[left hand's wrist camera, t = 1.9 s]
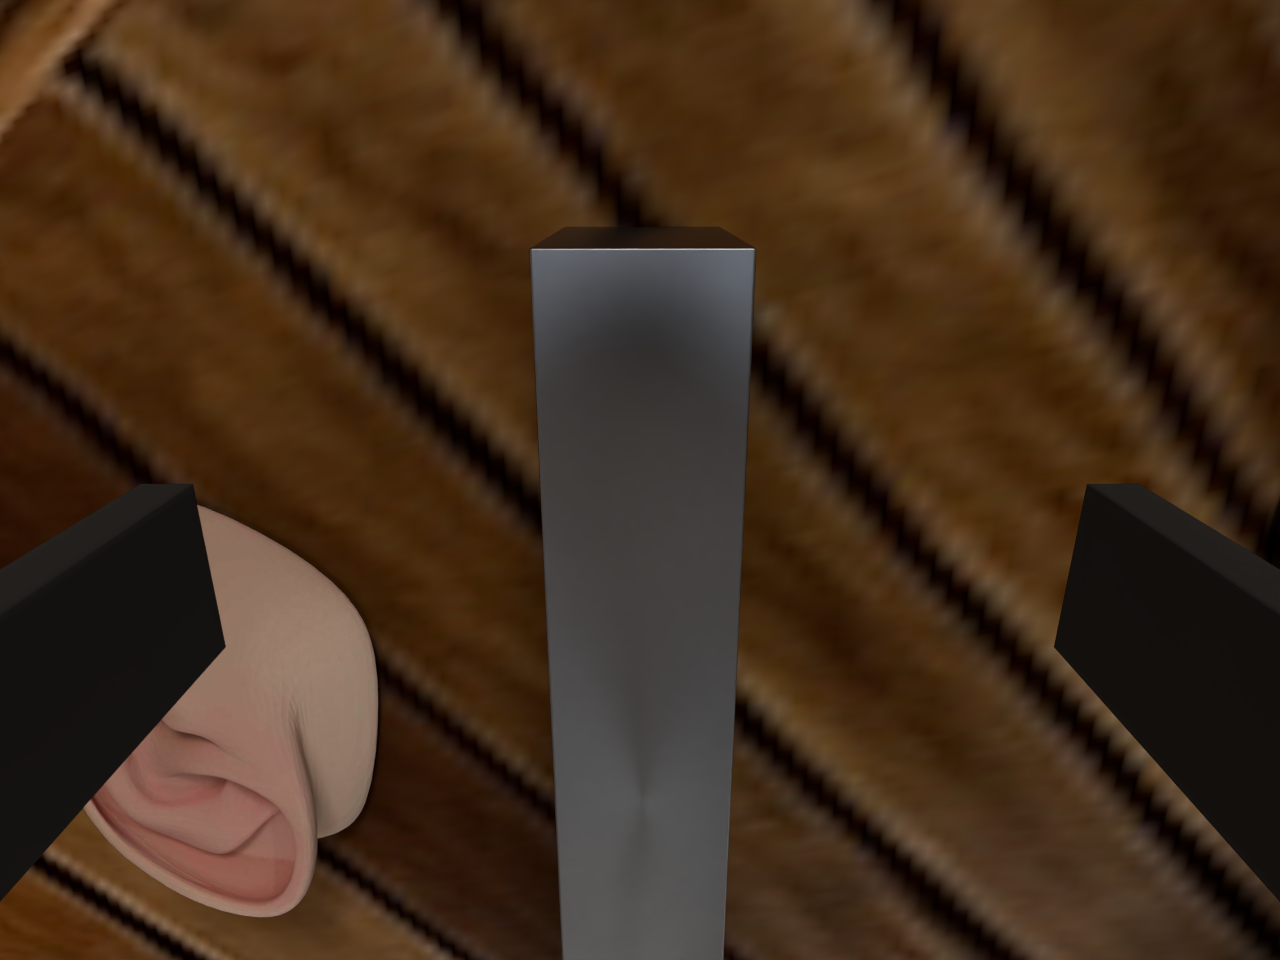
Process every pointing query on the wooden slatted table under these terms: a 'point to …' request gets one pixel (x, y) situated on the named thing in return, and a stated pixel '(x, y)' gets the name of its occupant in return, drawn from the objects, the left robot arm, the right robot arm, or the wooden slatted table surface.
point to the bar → (642, 574)
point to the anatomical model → (253, 738)
